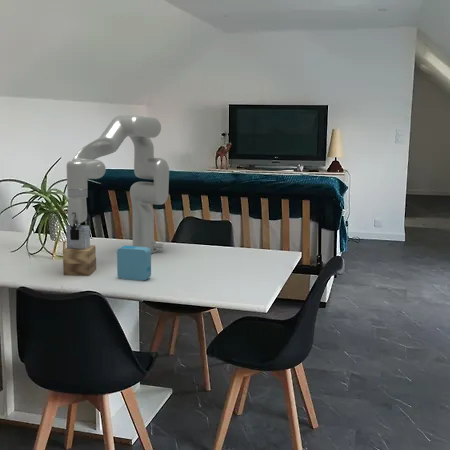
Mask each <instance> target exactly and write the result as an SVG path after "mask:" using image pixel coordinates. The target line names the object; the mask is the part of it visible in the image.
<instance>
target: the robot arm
mask: <svg viewBox="0 0 450 450" xmlns="http://www.w3.org/2000/svg"><path fill="white" fill-rule="evenodd" d="M161 131H162V125H161V122H160V121H159V119H158V118H156V117H152V116H151V117H150V116H140V115H127V114H125V115H124V114H123V115H117V116H115V117H114V118H113V119H112V120H111V121H110V122H109V124H108V125H107V127H106V128H105V130H104V131H103V132H102V134H101V135H100V136H99V137H98V138H97V139H95V140H92V142H91V141H90V143H88V144H86V145H85V146H83V147H82V148H80V150H78V151H77V153H76V154H75V156H74V157H73V159H72V160H71V161H68V162H67V163H66V188H67V189H66V191H67V192H66V194H67V198H68V201H67V223H68V224H69V225H70V239H71V240H79V230H78V226H79V225H85V226H88V221H87V219H88V206H87V205H88V204H87V198H88V195H89V194H88V179H91V180H97V179H101V178H103V176H104V175H105V174H106V171H107V169H106V168H107V167H106V166H105V163H104V162H103V161H101V160H99V159H98V158H101V157H106V156H108V155H111V154H113V153H115V152H117V151H118V149H120V146H121V145H122V144H123V143H124V141H125V140H126V138H127V137H129V138H130V140H131V141H132V143H133V146H134V147H133V148H134V149H133V150H134V153H133V156H134V159H133V172H134V175H135V177H137V178H139V179H144V180H153V182H151V181H137V182H134V183H133V184H132V185H131V186H130V189H129V195H130V201H131V206H132V207H131V209H132V210H131V211H132V246H137V247H148V248H149V249H150V250H151V254H155V253H157V252H158V249H164V244H163V243H157V241H156V240H155V213H154V209H153V207H152V205H164V204H165V203H166V202H167V200H168V198H169V183H170V167H169V164H168V161H167V160H166V159H163V158H161V157H155V148H154V147H155V146H154V143H153V141H152V139H154V138H156V137H158V136H159V134H160V133H161ZM151 138H152V139H151Z"/></svg>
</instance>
